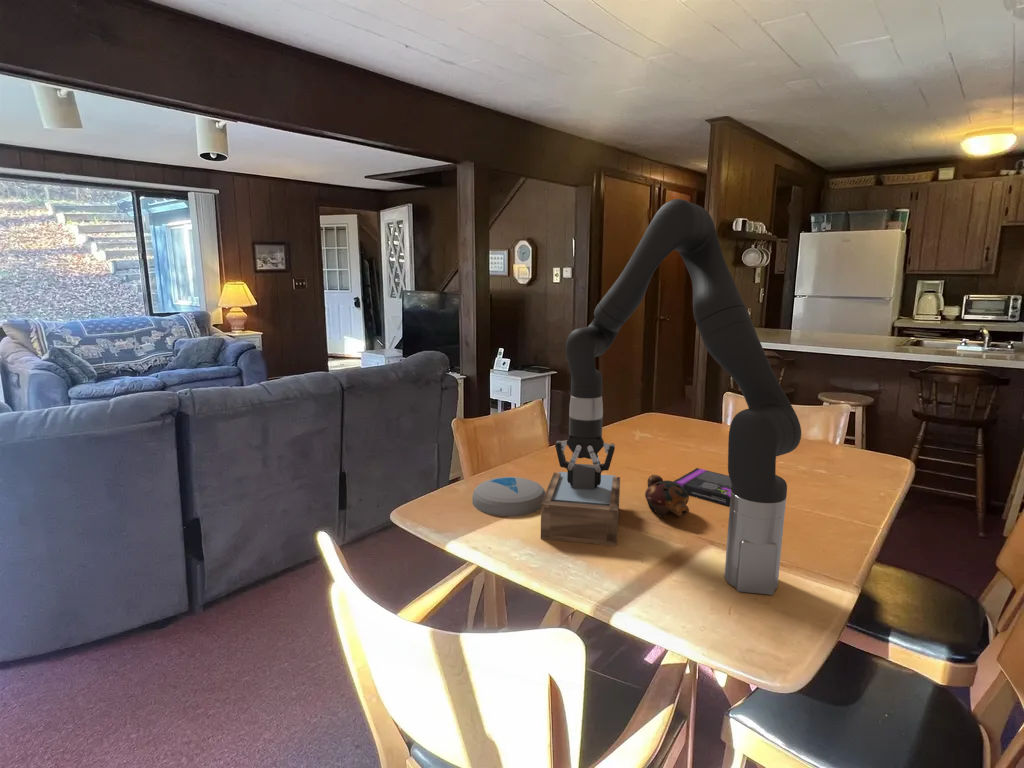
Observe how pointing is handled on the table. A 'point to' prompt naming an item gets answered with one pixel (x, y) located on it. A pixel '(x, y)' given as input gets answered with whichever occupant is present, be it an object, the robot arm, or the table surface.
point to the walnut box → (580, 518)
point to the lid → (584, 487)
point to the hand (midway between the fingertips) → (584, 485)
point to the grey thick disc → (508, 496)
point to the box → (707, 486)
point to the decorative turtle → (666, 497)
